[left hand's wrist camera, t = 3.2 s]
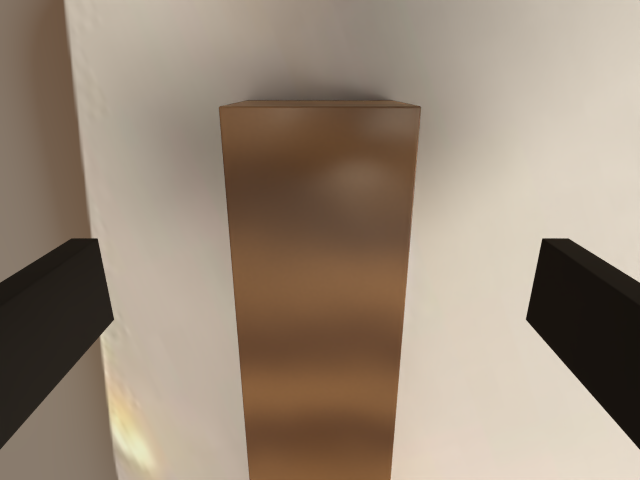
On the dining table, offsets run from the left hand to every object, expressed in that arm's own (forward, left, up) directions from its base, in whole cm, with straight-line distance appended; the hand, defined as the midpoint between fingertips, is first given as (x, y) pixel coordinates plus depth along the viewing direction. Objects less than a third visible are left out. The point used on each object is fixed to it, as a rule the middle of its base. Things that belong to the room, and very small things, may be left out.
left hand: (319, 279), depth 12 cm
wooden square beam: (+22, 0, -15) cm, 27 cm away
